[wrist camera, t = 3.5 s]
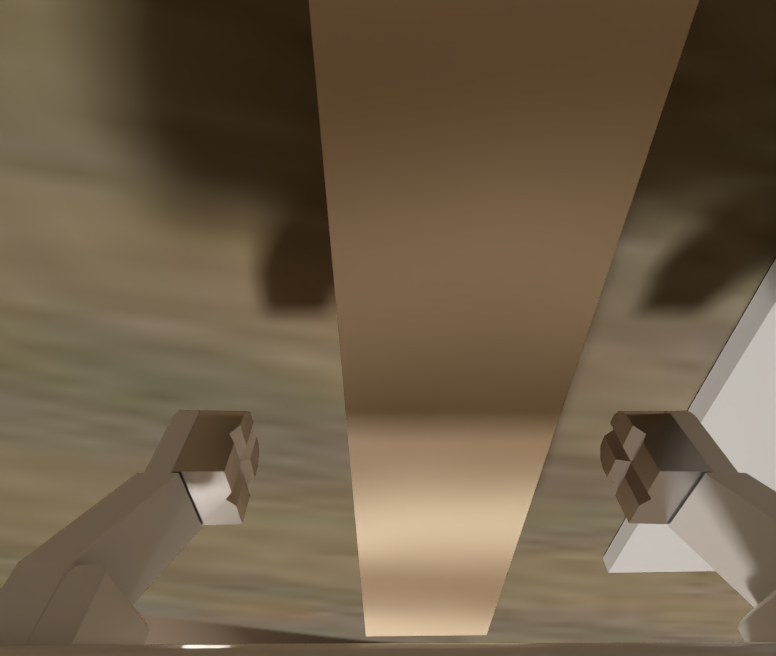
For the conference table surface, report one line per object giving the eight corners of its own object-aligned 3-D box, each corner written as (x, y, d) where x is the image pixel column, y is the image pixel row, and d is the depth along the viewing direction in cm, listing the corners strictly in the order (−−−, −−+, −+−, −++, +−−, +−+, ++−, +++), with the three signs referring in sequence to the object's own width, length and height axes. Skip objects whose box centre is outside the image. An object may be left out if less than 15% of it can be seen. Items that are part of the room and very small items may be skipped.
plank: (324, -282, 6) (254, -606, 3) (623, -284, 6) (902, -604, 3) (369, 521, 18) (366, 636, 15) (468, 520, 18) (486, 634, 15)
